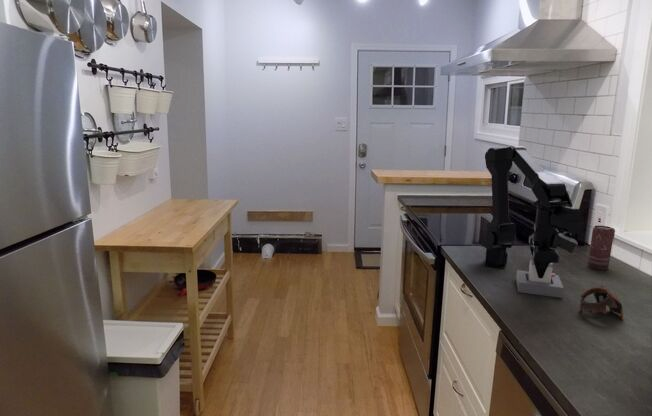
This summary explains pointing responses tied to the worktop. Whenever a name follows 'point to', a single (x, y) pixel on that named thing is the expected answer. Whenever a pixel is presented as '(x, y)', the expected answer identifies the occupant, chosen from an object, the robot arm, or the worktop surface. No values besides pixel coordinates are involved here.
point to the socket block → (539, 285)
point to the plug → (534, 277)
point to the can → (601, 247)
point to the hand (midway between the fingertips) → (539, 275)
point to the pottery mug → (601, 301)
